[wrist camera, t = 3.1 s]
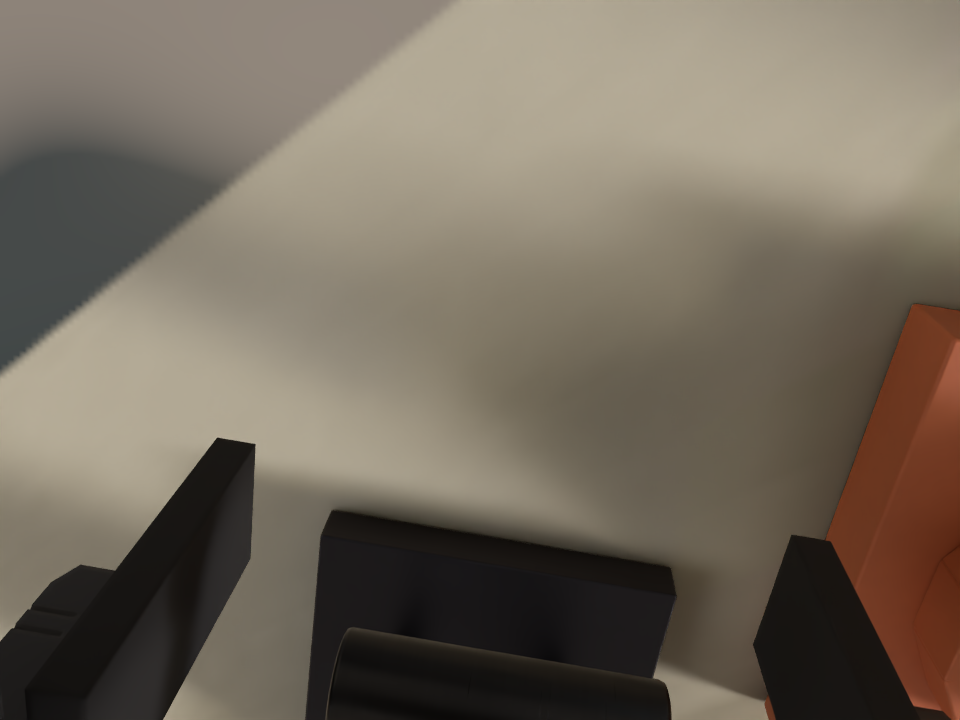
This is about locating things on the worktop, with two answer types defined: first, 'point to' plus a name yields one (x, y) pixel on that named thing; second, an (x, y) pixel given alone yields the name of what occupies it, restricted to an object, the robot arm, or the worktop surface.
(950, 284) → the worktop surface
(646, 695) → the lever
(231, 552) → the robot arm
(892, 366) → the button block
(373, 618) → the bracket
